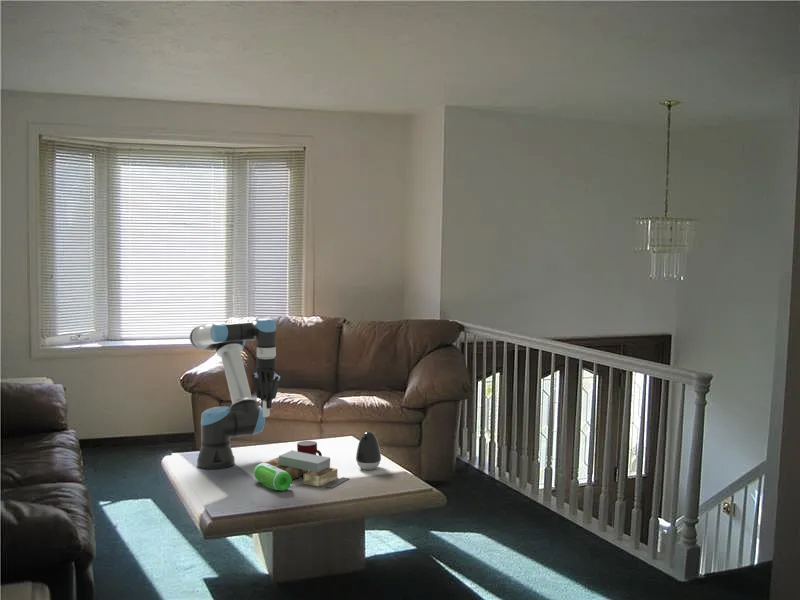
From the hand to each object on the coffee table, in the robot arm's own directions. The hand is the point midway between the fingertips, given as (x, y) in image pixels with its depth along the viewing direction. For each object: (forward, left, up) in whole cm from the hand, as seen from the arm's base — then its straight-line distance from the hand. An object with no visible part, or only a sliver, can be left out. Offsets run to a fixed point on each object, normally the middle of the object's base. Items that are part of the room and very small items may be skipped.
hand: (266, 416), depth 294 cm
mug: (+11, +14, -23) cm, 29 cm away
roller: (+22, +1, -22) cm, 32 cm away
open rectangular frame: (+25, +1, -23) cm, 34 cm away
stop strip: (+32, +1, -23) cm, 40 cm away
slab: (+17, +1, -18) cm, 25 cm away
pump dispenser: (+34, +23, -23) cm, 47 cm away
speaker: (+12, -13, -23) cm, 29 cm away
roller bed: (+8, +1, -23) cm, 24 cm away
